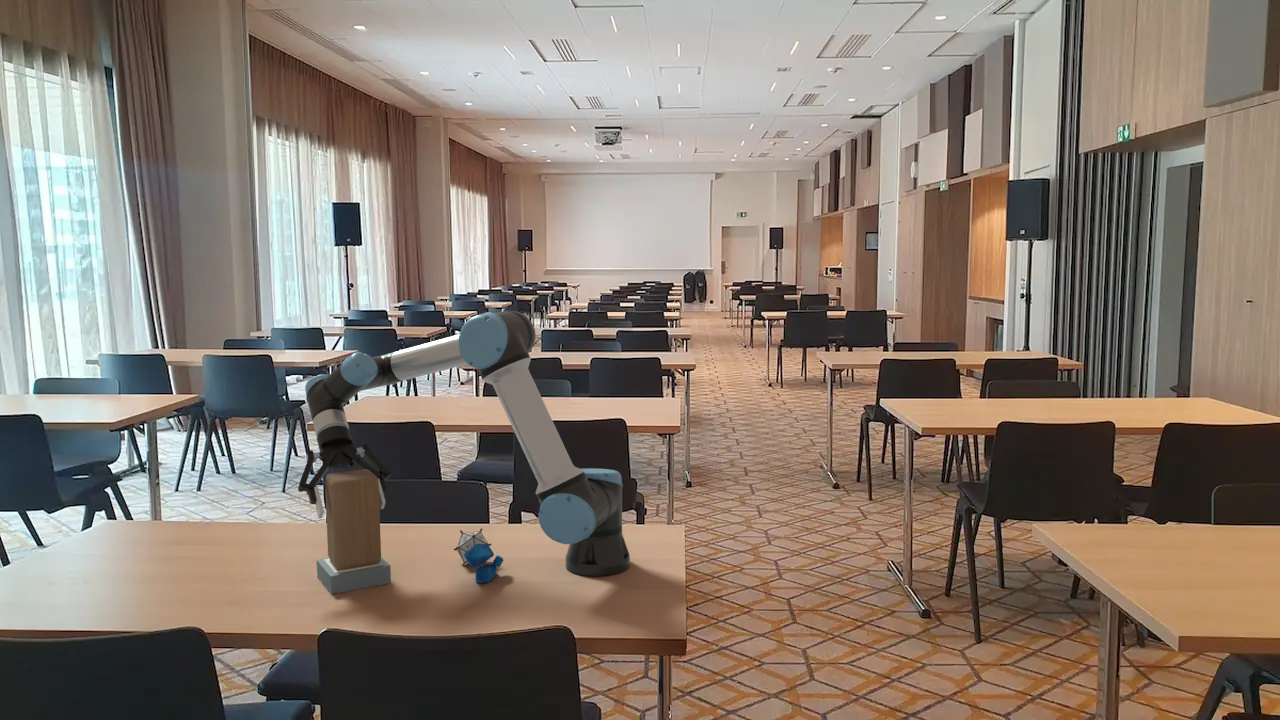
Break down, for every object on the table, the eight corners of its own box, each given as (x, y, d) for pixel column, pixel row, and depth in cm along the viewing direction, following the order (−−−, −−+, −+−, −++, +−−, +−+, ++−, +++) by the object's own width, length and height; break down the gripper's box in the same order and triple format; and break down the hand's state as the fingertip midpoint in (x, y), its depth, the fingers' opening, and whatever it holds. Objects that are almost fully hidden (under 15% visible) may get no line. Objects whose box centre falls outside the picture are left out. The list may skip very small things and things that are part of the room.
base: (390, 582, 202) (390, 564, 202) (331, 594, 195) (330, 575, 195) (374, 566, 213) (373, 549, 213) (317, 576, 206) (316, 559, 206)
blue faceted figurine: (510, 542, 209) (490, 546, 197) (508, 580, 208) (487, 586, 196) (480, 540, 211) (458, 544, 199) (477, 578, 210) (456, 584, 198)
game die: (477, 580, 214) (480, 555, 208) (446, 565, 215) (448, 540, 209) (495, 552, 221) (499, 527, 214) (464, 538, 222) (467, 513, 215)
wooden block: (336, 571, 197) (332, 481, 195) (327, 558, 206) (323, 472, 204) (382, 563, 202) (379, 476, 200) (371, 551, 211) (368, 467, 209)
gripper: (382, 437, 221) (404, 510, 210) (275, 448, 208) (291, 528, 197) (388, 418, 216) (410, 493, 205) (278, 429, 203) (296, 509, 192)
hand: (352, 510), depth 201 cm, fingers open, 13 cm apart
